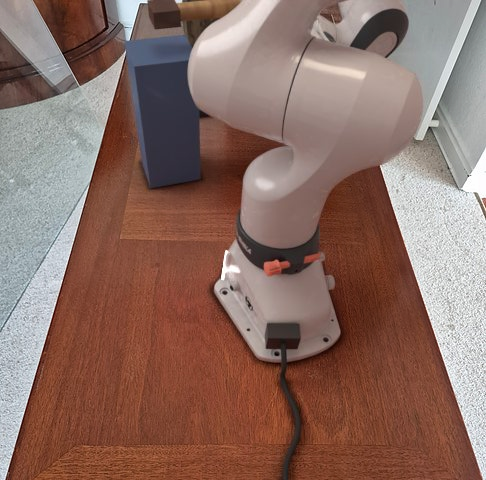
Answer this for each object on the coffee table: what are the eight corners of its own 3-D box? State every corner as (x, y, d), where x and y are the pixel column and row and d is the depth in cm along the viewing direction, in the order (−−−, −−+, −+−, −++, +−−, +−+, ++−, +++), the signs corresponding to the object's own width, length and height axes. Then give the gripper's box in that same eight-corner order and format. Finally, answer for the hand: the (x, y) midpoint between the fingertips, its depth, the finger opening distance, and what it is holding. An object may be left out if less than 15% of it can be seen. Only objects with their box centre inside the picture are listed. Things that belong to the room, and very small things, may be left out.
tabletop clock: (239, 48, 122) (245, -66, 102) (240, 66, 117) (247, -50, 97) (184, 46, 121) (180, -70, 101) (183, 64, 116) (178, -54, 96)
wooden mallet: (259, 6, 74) (260, -10, 72) (268, 18, 72) (269, 1, 70) (148, 17, 70) (147, 0, 68) (154, 29, 68) (153, 12, 66)
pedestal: (200, 179, 91) (198, 59, 71) (150, 188, 88) (134, 66, 69) (190, 154, 95) (185, 34, 76) (141, 162, 93) (124, 40, 73)
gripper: (292, -4, 83) (231, -45, 75) (343, 53, 72) (277, 12, 64) (273, 29, 87) (212, -6, 78) (318, 88, 76) (253, 54, 67)
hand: (242, 3), depth 71 cm, fingers closed on wooden mallet, 2 cm apart
